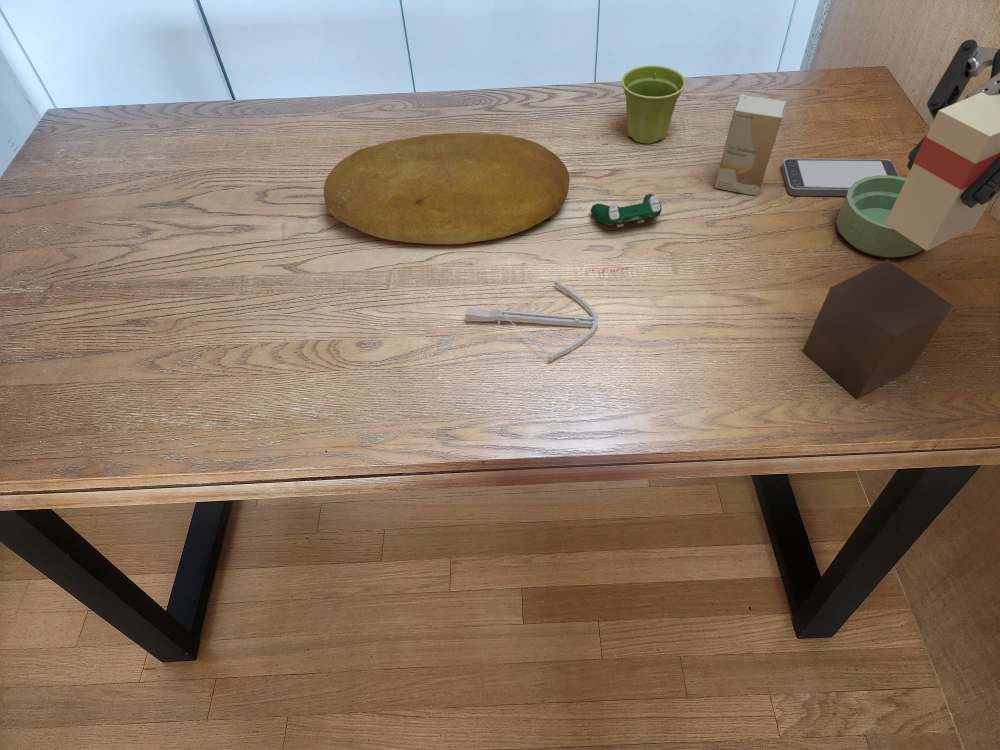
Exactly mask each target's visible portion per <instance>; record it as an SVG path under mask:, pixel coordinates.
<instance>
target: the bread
mask: <svg viewBox="0 0 1000 750" xmlns="http://www.w3.org/2000/svg"><path fill="white" fill-rule="evenodd" d="M569 187H570V174H569V170H568V168H567V166H566V165H565V164H564V162H563V161H562V159H561V158H560V157H559V156H557V155H556V154H555V153H554V152H553V151H551V150H549V149H548V148H547V147H546V146H543V145H541V144H539V143H538V142H535V141H533V140H530V139H526V138H524V137H518V136H514V135H508V134H502V133H501V134H500V133H488V132H487V133H486V132H485V133H484V132H456V133H455V132H453V133H436V134H427V135H419V136H414V137H408V138H407V137H406V138H402V139H401V138H400V139H395V140H389V141H385V142H382V143H379V144H375V145H371V146H366V147H363V148H360V149H358V150H356V151H354V152H352V153H350V154H349V155H347V156H346V157H344V158H343V159H341V160H340V161H339V162H338V163H337V164H336V165H335V166H334V167H333V168H332V169H331V170H330V172H329V173H328V175H327V177H326V180H325V181H324V186H323V198H324V203H325V206H326V208H327V210H328V211H329V212H330V214H331V215H332V216H334V217H335V219H337V220H338V221H340V222H342V223H343V224H345V225H347V226H349V227H351V228H355V229H357V230H358V231H360V232H362V233H364V234H365V235H366V234H367V235H370V236H373V237H376V238H379V239H383V240H389V241H394V242H395V241H396V242H397V241H398V242H402V243H412V244H424V245H462V244H463V245H464V244H468V243H469V244H470V243H476V242H485V241H491V240H495V239H501V238H505V237H507V236H511V235H514V234H517V233H520V232H523V231H526V230H529V229H530V228H533V227H534V226H536V225H538V224H540V223H542V222H544V221H545V220H546V219H549V218H550V217H551V216H553V215H554V214H555V213H557V212H558V211H559V209H560V208H561V207H562V206H563V205H564V202H565V200H566V198H567V196H568V194H569Z"/></svg>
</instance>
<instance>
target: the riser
mask: <svg viewBox="0 0 1000 750" xmlns="http://www.w3.org/2000/svg"><path fill="white" fill-rule="evenodd" d="M952 308H953V304H952V303H951V302H949V301H948V300H946V299H945V298H943V297H942V296H940V295H939V294H938V293H937V292H935V291H933V290H932V289H931V288H929V287H927V285H925V284H923V283H922V282H921V281H919V280H918V279H916V278H915V277H913V276H912V275H911V274H909V273H907V272H906V271H905V270H903V269H902V268H900V266H897V265H896V264H895V263H894V262H892V261H890V260H889V259H885V260H883V261H882V262H879V263H877V264H875V265H873V266H871V267H869V268H867V269H865V270H862V271H861V272H858V273H857V274H855V275H853V276H851V277H848V278H847V279H845V280H842V281H841V282H839V283H837V284H834V285H832V286H831V287H829V289H828V292H827V294H826V297H825V298H824V301H823V303H822V305H821V307H820V310H819V312H818V315H817V317H816V319H815V321H814V324H813V326H812V328H811V330H810V332H809V335H808V337H807V339H806V342H805V343H804V346H803V348H802V353H804V354H805V355H806V356H807V357H808V358H809V359H811V360H812V362H814V363H815V365H817V366H818V367H819V368H821V369H822V370H823V371H824V372H825V373H826V374H827V375H829V377H831V378H832V379H833V380H834V381H835V382H836V383H838V384H839V385H840V386H841V387H842V388H843V389H844V390H846V391H847V392H848V393H849V394H850V395H851V396H852V397H853V398H855V399H856V400H858V399H860V398H862V397H864V396H865V395H868V394H870V393H871V392H873V391H875V390H876V389H878V388H881V387H882V386H884V385H886V384H887V383H889V382H890V381H893V380H895V379H896V378H898V377H900V376H902V375H904V374H906V373H907V372H909V371H912V368H913V367H914V365H915V364H916V363H917V362H918V359H919V358H920V357H921V355H922V353H923V352H924V351H925V349H926V348H927V346H928V344H929V343H930V341H931V339H933V336H935V334H936V332H937V330H938V329H939V327H940V326H941V324H942V323H943V321H944V320H945V319H946V317H947V315H949V314H948V313H949V312H950V311H951V309H952Z"/></svg>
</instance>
